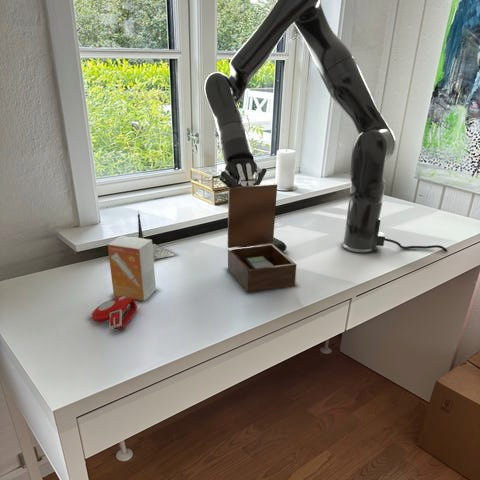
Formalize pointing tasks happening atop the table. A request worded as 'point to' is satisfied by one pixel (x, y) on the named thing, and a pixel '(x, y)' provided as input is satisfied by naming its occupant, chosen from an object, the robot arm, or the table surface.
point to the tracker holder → (115, 312)
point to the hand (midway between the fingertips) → (251, 204)
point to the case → (266, 276)
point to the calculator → (257, 262)
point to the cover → (251, 215)
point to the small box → (132, 267)
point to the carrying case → (275, 244)
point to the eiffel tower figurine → (157, 250)
